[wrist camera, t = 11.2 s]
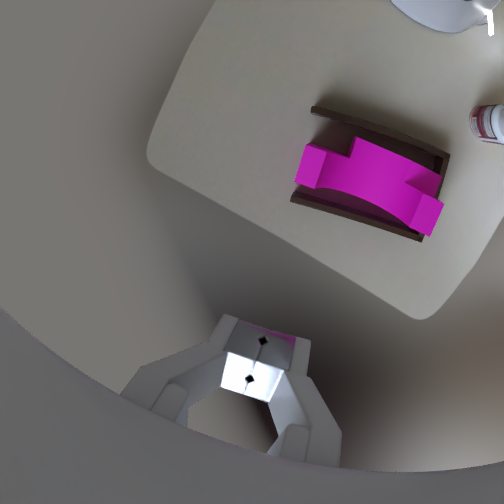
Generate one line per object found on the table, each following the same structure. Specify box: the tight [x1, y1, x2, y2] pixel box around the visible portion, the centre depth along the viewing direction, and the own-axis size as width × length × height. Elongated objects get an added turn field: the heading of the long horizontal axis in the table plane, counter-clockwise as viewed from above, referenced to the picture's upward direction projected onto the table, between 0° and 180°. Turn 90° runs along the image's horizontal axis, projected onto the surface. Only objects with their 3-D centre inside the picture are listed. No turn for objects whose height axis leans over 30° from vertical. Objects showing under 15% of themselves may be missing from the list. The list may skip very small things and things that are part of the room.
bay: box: [290, 106, 450, 242], centre depth 29 cm, size 11×17×2 cm
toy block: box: [294, 137, 444, 237], centre depth 27 cm, size 15×6×8 cm, turn 75°
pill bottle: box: [470, 104, 504, 145], centre depth 19 cm, size 5×5×8 cm
